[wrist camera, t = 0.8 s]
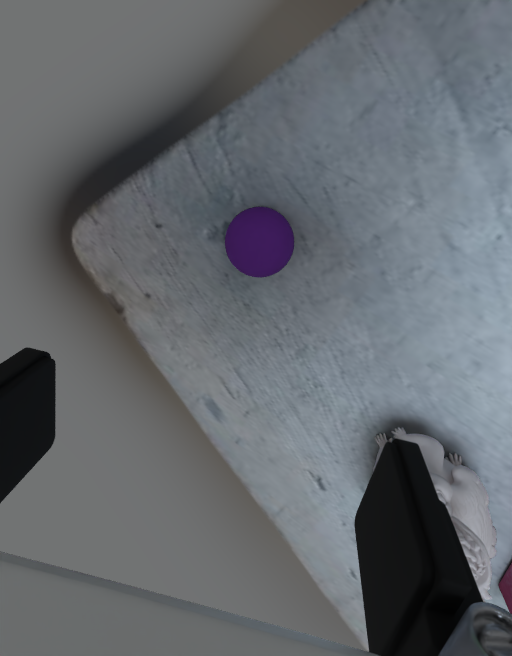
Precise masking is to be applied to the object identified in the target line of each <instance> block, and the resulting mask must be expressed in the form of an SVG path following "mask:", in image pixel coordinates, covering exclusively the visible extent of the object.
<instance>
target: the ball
mask: <svg viewBox="0 0 512 656" xmlns="http://www.w3.org/2000/svg"><path fill="white" fill-rule="evenodd" d="M225 248H226V252H227V255H228V258H229V259H230V261H231V263H232V264H233V265H234V266H235V267H236V268H237V269H238V270H239V271H240V272H242V273H244V274H246V275H248V276H252V277H267V276H271V275H273V274H275V273H277V272H279V271H280V270H281V269H282V268H284V267H285V265H286V264H287V263H288V261H289V260H290V258H291V256H292V253H293V249H294V235H293V231H292V228H291V226H290V224H289V223H288V221H287V220H286V219H285V218H284V216H282V215H281V214H280V213H278V212H277V211H275V210H273V209H270V208H267V207H253V208H249V209H246V210H244V211H242V212H241V213H239V214H238V215H237V216H236V217H235V218H234V219H233V220H232V222H231V223H230V225H229V227H228V229H227V232H226V237H225Z"/></svg>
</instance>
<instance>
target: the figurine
mask: <svg viewBox="0 0 512 656" xmlns="http://www.w3.org/2000/svg"><path fill="white" fill-rule="evenodd" d="M391 432H392V433H393V434H395V436H393V437H394V438H397V439H402V440H406V441H410V442H414V443H417V444H418V445H419V447H420V450H421V452H422V455H423V458H424V460H425V463H426V466H427V468H428V471H429V474H430V476H431V479H432V482H433V484H434V487H435V490H436V492H437V495H438V498H439V500H440V501H442V502H443V503H444V504H445V506H446V507H447V509H448V512H449V514H450V517H451V520H452V522H453V525H454V527H455V530H456V532H457V535H458V538H459V540H460V543H461V545H462V548H463V550H464V553H465V556H466V558H467V561H468V563H469V566H470V568H471V571H472V574H473V576H474V579H475V581H476V584H477V586H478V589H479V592H480V594H481V597H482V599H483V598H484V599H488V600H489V599H492V597H491V596H490V594H489V593H488V591H487V590H489V589H490V583H491V578H492V568H491V562H490V559H492V558H494V557H495V555H496V553H497V551H496V549H495V545H496V541H497V539H496V529H495V527H494V526H492V520H491V516H490V512H489V509H488V504H489V496H488V493H487V491H486V489H485V487H484V486H483V484H482V482H481V481H480V478H479V477H478V475H477V474H476V473H475V472H474V471H472V470H471V469H470V468H468V467H466V466H461V463H462V458H461V456H459V457H457V454H456V453H455V454H454V459H453V456H452V454H450V452H449V459H450V461H449V459H448V458H447V457H446V456H445V457H446V458H445V459H444V449H443V446H442V445H441V444H440V443H439V441H438V440H436V439H434V438H432V437H431V436H427V435H422V434H406V432H405V430H404V429H403V428H399V427H398V429H396V428H395V432H394V431H391ZM376 435H377V434H376ZM383 437H384V438H383ZM377 438H378V439H377ZM377 438H375V440H376V442H377V443H378V445H379V447H380V449H379V451H378V454H377V458H376V462H375V466H374V467H373V472H374V469H375V467H376V464H377V462H378V460H379V457H380V455H381V452H382V450H383V447H384V445H385V443H386V442H391V441H392V438H390V439H389V441H387V439H386V435H385V434H383V436H382V434H380V437H379V435H377ZM380 438H381V439H380ZM378 440H379V441H378ZM484 599H483V602H485V601H484ZM485 603H486V602H485Z"/></svg>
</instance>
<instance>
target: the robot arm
mask: <svg viewBox="0 0 512 656" xmlns="http://www.w3.org/2000/svg"><path fill="white" fill-rule="evenodd" d="M54 439H55V361H54V360H53V359H51V356H50V354H49V353H47V352H44V351H40V350H36V349H32V348H24V349H23V350H21V351H19V352H18V353H16V354H15V355H13V356H12V357H10V358H9V359H7V360H6V361H4V362H3V363H1V364H0V503H1V502H2V501H3V499H4V498H5V497H6V496H7V495H8V494H9V493H10V492H11V491H12V490H13V488H14V487H15V486H16V485H17V484H18V483H19V482H20V481H21V480H22V479H23V478H24V476H25V475H26V474H27V473H28V472H29V471H30V470H31V469H32V468H33V467H34V466H35V464H36V463H37V462H38V461H39V460H40V459H41V458H42V457H43V456H44V455H45V453H46V452H47V451H48V450H49V449H50V448H51V446H52V444H53V442H54ZM355 533H356V542H357V550H358V559H359V567H360V576H361V585H362V593H363V602H364V610H365V619H366V627H367V636H368V645H369V652H367V651H363V650H360V649H356V648H353V647H350V646H346V645H343V644H340V643H336V642H333V641H329V640H326V639H322V638H319V637H315V636H312V635H309V634H306V633H302V632H298V631H295V630H291V629H288V628H284V627H280V626H276V625H273V624H269V623H266V622H262V621H258V620H255V619H251V618H247V617H244V616H240V615H236V614H233V613H229V612H226V611H222V610H218V609H214V608H211V607H207V606H204V605H200V604H196V603H192V602H189V601H185V600H182V599H177V598H174V597H170V596H167V595H163V594H159V593H155V592H152V591H148V590H144V589H141V588H137V587H133V586H129V585H126V584H122V583H118V582H114V581H111V580H107V579H103V578H99V577H95V576H92V575H88V574H84V573H81V572H77V571H73V570H69V569H66V568H62V567H58V566H54V565H50V564H46V563H43V562H39V561H35V560H31V559H27V558H23V557H20V556H16V555H12V554H8V553H5V552H1V551H0V656H512V614H511V613H509V612H508V611H506V610H505V609H503V608H501V607H498V606H496V605H494V604H491V603H485V602H483V599H482V597H481V594H480V592H479V589H478V586H477V584H476V581H475V579H474V576H473V574H472V571H471V568H470V566H469V563H468V561H467V558H466V556H465V553H464V550H463V548H462V545H461V543H460V540H459V538H458V535H457V532H456V530H455V527H454V525H453V522H452V520H451V517H450V514H449V512H448V509H447V507H446V506H445V504H444V503H443V502H442V501H440V500H439V498H438V495H437V492H436V490H435V487H434V484H433V482H432V479H431V476H430V474H429V471H428V468H427V466H426V463H425V460H424V458H423V455H422V452H421V450H420V447H419V445H418V444H417V443H414V442H410V441H406V440H402V439H397V438H396V439H394V440H393V442H392V443H391V442H386V443H385V445H384V447H383V450H382V452H381V455H380V457H379V460H378V462H377V464H376V467H375V469H374V472H373V474H372V476H371V479H370V481H369V484H368V486H367V489H366V491H365V493H364V496H363V498H362V501H361V503H360V506H359V508H358V510H357V513H356V517H355Z"/></svg>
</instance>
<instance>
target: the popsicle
mask: <svg viewBox="0 0 512 656" xmlns="http://www.w3.org/2000/svg"><path fill="white" fill-rule="evenodd" d="M499 588H500V590H501V593H502V595H503V597H504V600H505V602H506V604H507V607H508V609H509V611H510V613H511V614H512V563H511V565H510V566H509V568H508V570H507V571H506V573H505V575H504V576H503V578H502V580H501V581H500V583H499Z"/></svg>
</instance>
